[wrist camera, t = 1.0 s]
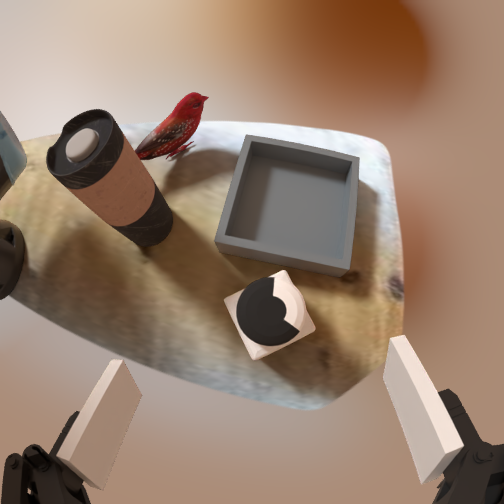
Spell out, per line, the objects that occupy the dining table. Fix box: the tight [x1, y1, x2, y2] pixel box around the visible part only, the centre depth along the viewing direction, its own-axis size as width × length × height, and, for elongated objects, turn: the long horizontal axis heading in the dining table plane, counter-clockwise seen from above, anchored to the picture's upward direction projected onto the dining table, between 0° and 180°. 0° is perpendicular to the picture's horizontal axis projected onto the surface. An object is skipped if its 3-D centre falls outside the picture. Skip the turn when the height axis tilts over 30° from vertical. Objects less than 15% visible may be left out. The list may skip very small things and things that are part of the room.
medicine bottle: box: [224, 270, 316, 360], centre depth 29 cm, size 7×7×12 cm
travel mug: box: [46, 109, 173, 247], centre depth 30 cm, size 8×8×20 cm
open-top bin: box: [214, 135, 360, 278], centre depth 37 cm, size 16×16×4 cm
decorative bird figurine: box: [135, 92, 208, 160], centre depth 38 cm, size 3×18×10 cm, turn 125°
